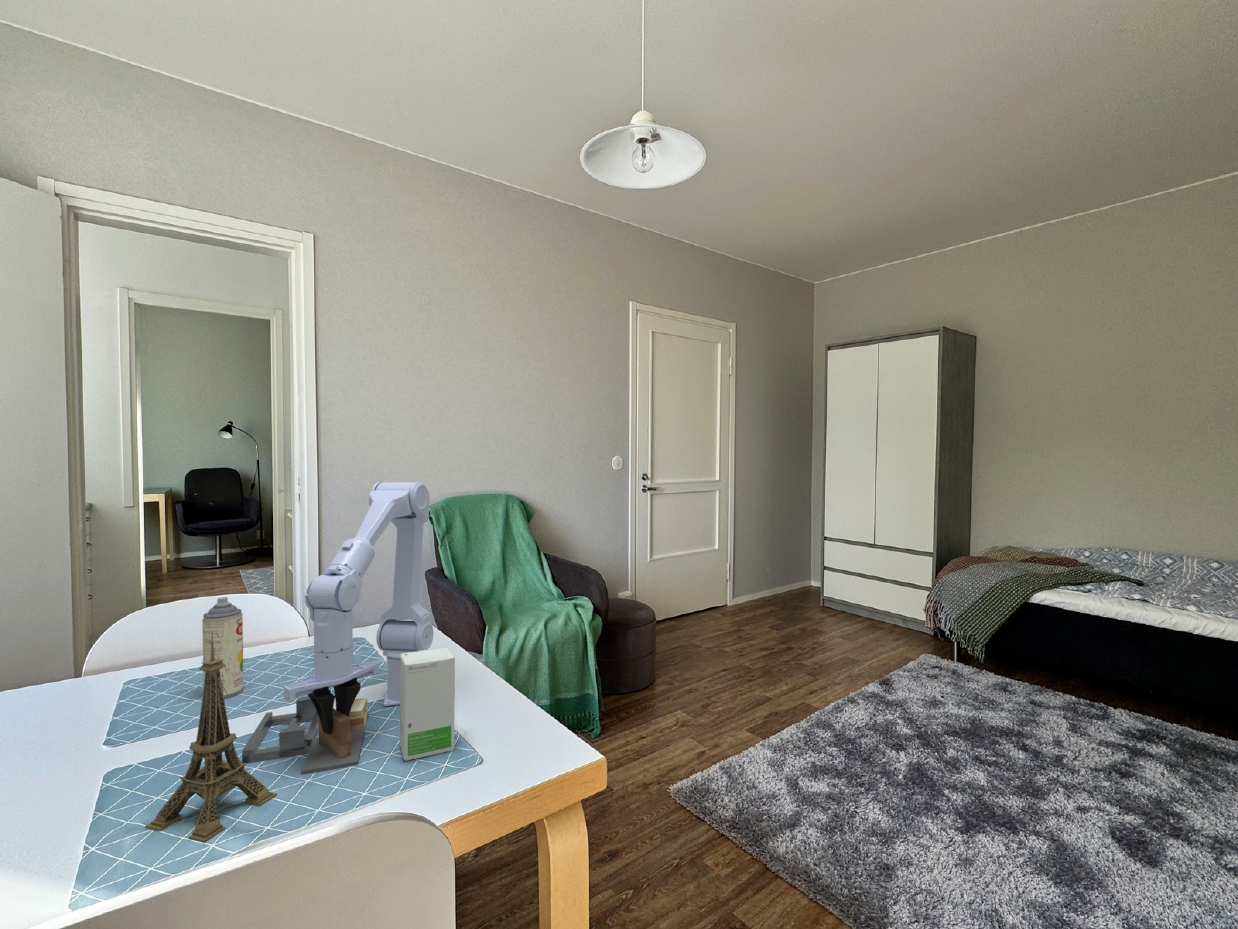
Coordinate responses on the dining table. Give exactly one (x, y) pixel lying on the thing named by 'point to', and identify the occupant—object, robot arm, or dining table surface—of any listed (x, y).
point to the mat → (332, 755)
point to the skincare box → (427, 702)
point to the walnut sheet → (337, 736)
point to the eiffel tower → (211, 764)
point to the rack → (284, 733)
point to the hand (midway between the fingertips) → (334, 729)
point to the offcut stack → (358, 715)
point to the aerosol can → (225, 644)
